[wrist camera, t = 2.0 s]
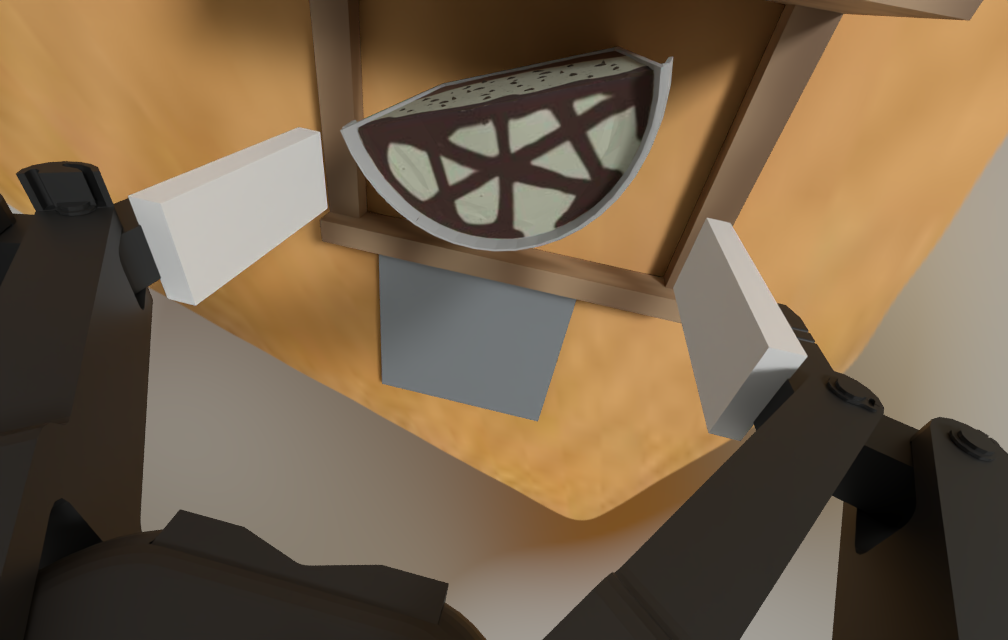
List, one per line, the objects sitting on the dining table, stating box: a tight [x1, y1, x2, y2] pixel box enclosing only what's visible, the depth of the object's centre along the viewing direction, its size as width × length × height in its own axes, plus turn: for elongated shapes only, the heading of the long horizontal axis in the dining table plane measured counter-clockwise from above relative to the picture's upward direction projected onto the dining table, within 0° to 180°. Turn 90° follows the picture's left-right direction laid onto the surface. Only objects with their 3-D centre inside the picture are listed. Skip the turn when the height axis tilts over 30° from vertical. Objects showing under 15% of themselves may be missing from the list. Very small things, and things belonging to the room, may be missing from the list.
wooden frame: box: [309, 0, 983, 323], centre depth 21 cm, size 24×18×9 cm
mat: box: [379, 254, 576, 421], centre depth 34 cm, size 14×14×1 cm
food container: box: [340, 46, 673, 251], centre depth 20 cm, size 12×6×10 cm, turn 101°
